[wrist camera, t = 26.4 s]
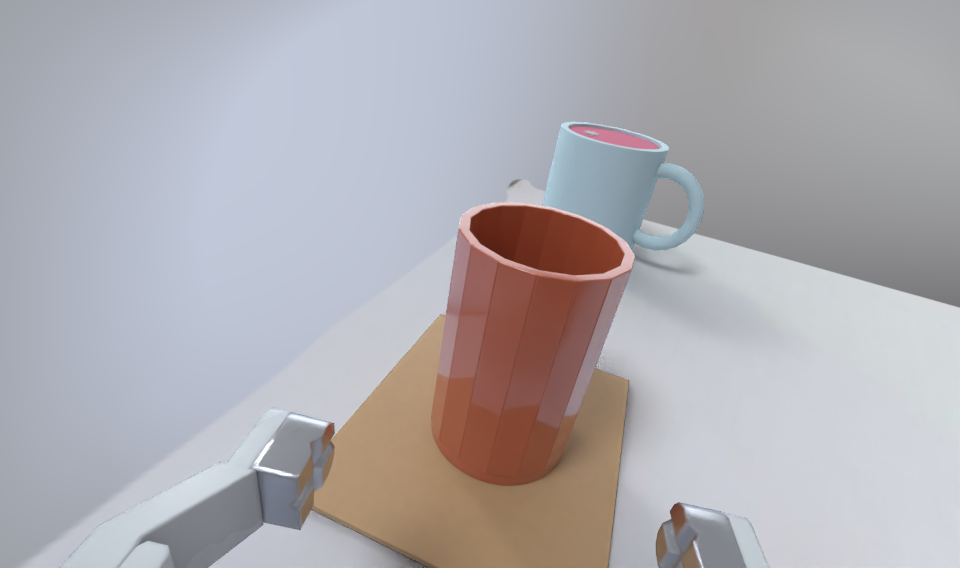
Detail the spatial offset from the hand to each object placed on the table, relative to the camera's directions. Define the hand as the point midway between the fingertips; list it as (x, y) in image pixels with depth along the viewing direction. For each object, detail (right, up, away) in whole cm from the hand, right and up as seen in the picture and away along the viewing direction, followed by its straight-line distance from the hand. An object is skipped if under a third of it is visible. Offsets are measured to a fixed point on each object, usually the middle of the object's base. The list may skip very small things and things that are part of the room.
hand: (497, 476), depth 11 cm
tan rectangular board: (0, -2, +11) cm, 11 cm away
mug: (+11, +8, +32) cm, 35 cm away
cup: (0, -2, +11) cm, 11 cm away
